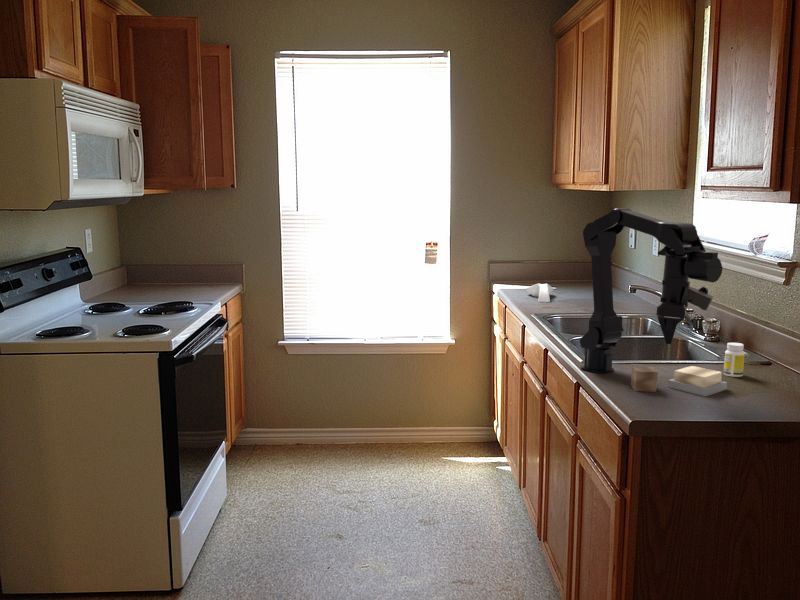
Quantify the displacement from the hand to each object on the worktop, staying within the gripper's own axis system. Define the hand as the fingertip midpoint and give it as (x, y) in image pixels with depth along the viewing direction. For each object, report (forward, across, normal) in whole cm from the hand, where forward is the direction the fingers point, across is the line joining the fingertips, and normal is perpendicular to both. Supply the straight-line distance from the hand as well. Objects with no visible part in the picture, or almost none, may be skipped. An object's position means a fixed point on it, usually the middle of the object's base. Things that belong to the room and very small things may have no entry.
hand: (669, 339), depth 185 cm
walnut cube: (+13, -1, +5) cm, 14 cm away
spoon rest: (+17, +130, +59) cm, 144 cm away
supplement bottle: (+13, +23, -16) cm, 31 cm away
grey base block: (+13, +5, -7) cm, 16 cm away
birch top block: (+11, +5, -7) cm, 14 cm away
